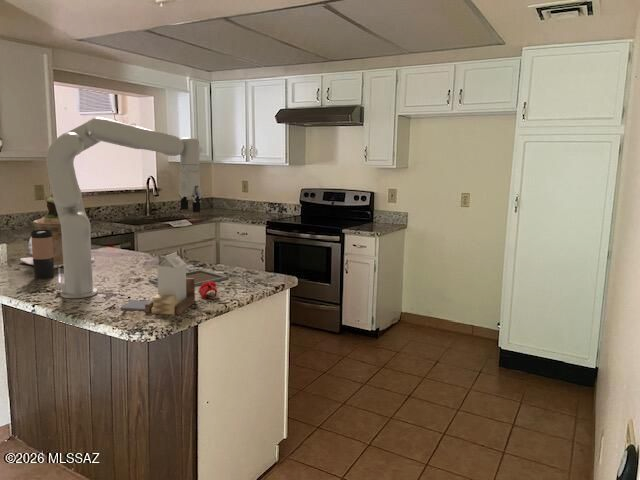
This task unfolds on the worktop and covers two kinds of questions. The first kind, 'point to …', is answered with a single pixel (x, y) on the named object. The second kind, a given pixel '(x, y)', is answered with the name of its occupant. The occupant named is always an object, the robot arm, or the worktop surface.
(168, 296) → the offcut top
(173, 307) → the offcut mid
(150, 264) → the worktop surface
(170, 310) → the offcut low
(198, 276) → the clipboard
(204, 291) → the red rounded piece
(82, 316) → the worktop surface
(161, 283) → the milk carton
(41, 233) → the travel mug
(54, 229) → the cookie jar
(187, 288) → the rack
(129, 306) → the pad
